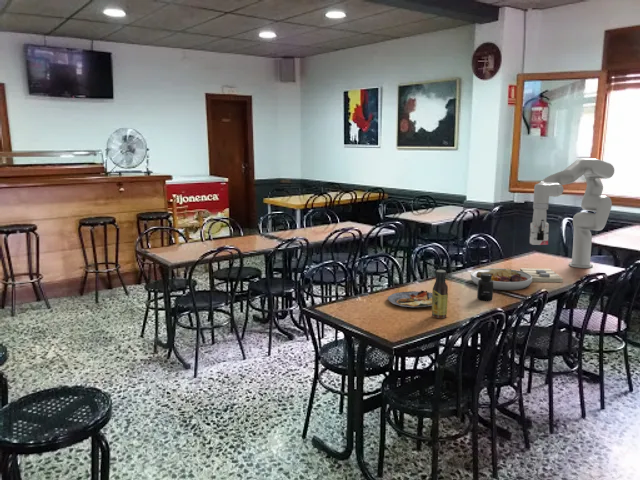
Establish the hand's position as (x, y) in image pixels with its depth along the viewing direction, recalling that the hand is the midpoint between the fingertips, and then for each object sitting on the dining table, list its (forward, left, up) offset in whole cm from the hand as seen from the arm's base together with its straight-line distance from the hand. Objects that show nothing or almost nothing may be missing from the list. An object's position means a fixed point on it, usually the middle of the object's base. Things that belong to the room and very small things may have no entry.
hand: (538, 238), depth 280 cm
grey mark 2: (+15, 0, -17) cm, 23 cm away
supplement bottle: (+54, -37, -20) cm, 68 cm away
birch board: (+8, 0, -19) cm, 21 cm away
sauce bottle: (+81, -60, -20) cm, 103 cm away
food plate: (+61, -69, -20) cm, 94 cm away
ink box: (0, 0, -3) cm, 3 cm away
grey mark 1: (+8, 0, -17) cm, 19 cm away
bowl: (+24, -24, -20) cm, 39 cm away
